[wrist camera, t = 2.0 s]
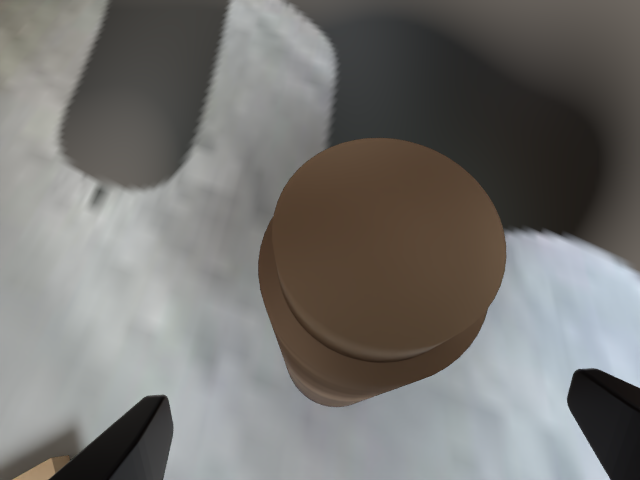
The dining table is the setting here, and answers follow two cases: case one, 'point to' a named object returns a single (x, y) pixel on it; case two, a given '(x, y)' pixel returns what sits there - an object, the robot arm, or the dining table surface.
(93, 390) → the dining table surface
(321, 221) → the pepper mill
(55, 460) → the board
